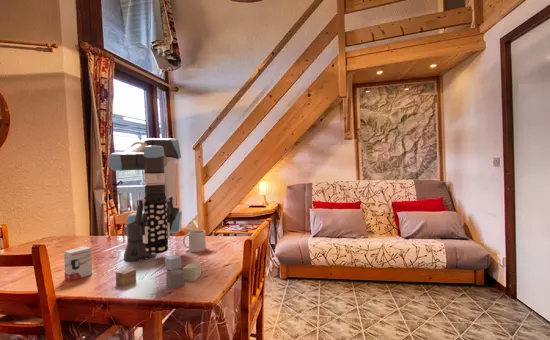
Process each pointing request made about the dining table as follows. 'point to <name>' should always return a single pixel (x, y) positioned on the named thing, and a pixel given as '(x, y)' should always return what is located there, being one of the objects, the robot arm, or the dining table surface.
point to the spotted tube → (156, 227)
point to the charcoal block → (175, 278)
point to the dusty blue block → (173, 262)
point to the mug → (196, 241)
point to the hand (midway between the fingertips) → (156, 240)
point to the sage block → (192, 271)
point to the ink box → (78, 263)
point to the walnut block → (125, 277)
